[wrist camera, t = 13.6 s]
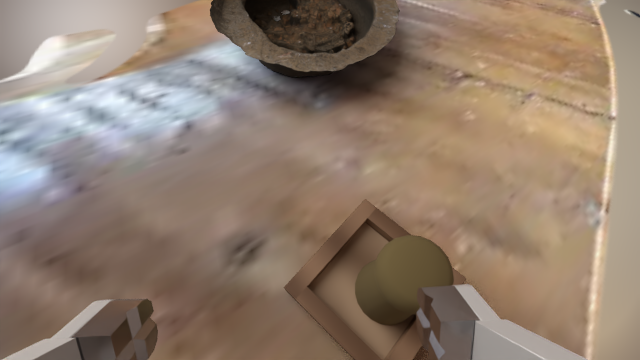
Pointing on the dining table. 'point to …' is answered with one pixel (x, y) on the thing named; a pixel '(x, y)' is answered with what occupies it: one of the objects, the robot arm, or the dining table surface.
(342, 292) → the walnut socket block
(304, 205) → the dining table surface
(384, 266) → the cork
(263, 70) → the dining table surface
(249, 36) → the stone bowl
